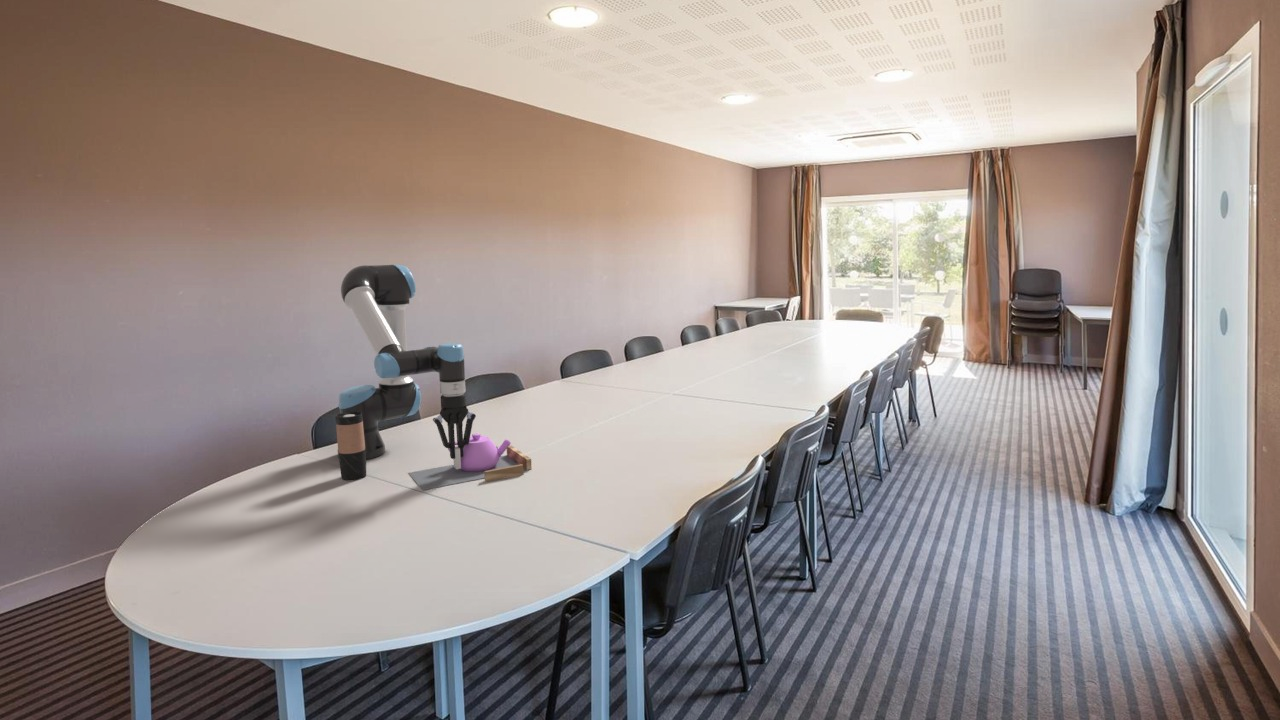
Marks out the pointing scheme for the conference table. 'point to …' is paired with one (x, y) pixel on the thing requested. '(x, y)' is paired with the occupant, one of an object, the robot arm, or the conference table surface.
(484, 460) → the teapot
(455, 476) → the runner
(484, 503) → the conference table surface
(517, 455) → the bay
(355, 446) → the travel mug
